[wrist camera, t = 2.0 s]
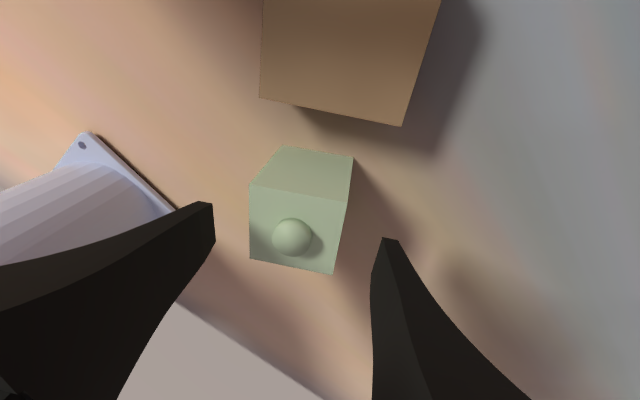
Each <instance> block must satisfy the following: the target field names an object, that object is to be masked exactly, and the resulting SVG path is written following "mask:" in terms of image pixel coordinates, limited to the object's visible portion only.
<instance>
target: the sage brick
mask: <svg viewBox="0 0 640 400" xmlns="http://www.w3.org/2000/svg"><path fill="white" fill-rule="evenodd" d="M352 165H353V157H349V156H344V155H338V154H332V153H326V152H321V151H315V150H309V149H304V148H298V147H292V146H286V145H282V146H281V147H280V148H279V149H278V151H277V152H276V153H275V154H274V155H273V157H272V158H271V159H270V160H269V161H268V162H267V164H266V165H265V166H264V167H263V168H262V170H261V171H260V172H259V173H258V174H257V175H256V177H255V178H254V179H253V180H252V181H251V183H250V184H249V235H250V258H251V259H255V260H260V261H265V262H270V263H275V264H280V265H284V266H289V267H294V268H299V269H304V270H309V271H314V272H318V273H323V274H328V275H333V270H334V266H335V261H336V256H337V251H338V246H339V241H340V237H341V232H342V227H343V222H344V217H345V212H346V208H347V203H348V195H349V188H350V180H351V173H352Z"/></svg>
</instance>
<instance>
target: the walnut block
mask: <svg viewBox="0 0 640 400" xmlns="http://www.w3.org/2000/svg"><path fill="white" fill-rule="evenodd" d="M441 1H442V0H263V20H262V43H261V65H260V87H259V98H263V99H267V100H272V101H277V102H282V103H287V104H292V105H297V106H301V107H306V108H311V109H316V110H321V111H326V112H331V113H335V114H340V115H345V116H350V117H355V118H360V119H365V120H370V121H374V122H379V123H384V124H389V125H394V126H399V127H401V126H402V123H403V120H404V116H405V113H406V110H407V107H408V104H409V101H410V98H411V94H412V91H413V88H414V85H415V82H416V79H417V76H418V73H419V69H420V66H421V63H422V60H423V57H424V54H425V51H426V48H427V44H428V41H429V38H430V35H431V32H432V29H433V26H434V23H435V19H436V16H437V13H438V10H439V7H440V4H441Z"/></svg>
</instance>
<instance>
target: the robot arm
mask: <svg viewBox="0 0 640 400" xmlns="http://www.w3.org/2000/svg"><path fill="white" fill-rule="evenodd" d="M84 143H85V144H84ZM215 242H216V238H215V227H214V217H213V206H212V203H206V202H201V201H197V202H194V203H192V204H189V205H187V206H185V207H182V208H180V209H178V210H175V209H174V208H173V207H172V206H171V205H170V204H169V203H168V202H167V201H166V200H164V199H163V198H162V197H161V196H160V195H159V194H158V193H157V192H156V191H155V190H154V189H153V188H152V187H151V186H149V185H148V184H147V183H146V182H145V181H144V180H143V179H142V178H141V177H140V176H139V175H138V174H137V173H136V172H134V171H133V170H132V169H131V168H130V167H129V166H128V165H127V164H126V163H125V162H124V161H123V160H122V159H120V158H119V157H118V156H117V155H116V154H115V153H114V152H113V151H112V150H111V149H110V148H109V147H108V146H107V145H105V144H104V143H103V142H102V141H101V140H100V139H99V138H98V137H97V136H96V135H95V134H93V133H92V132H89V131H85V132H82V133H80V134H79V135H78V136H77V138H76V139H75V140H74V142H73V143H72V144H71V146H70V147H69V149H68V150H67V151H66V153H65V154H64V155H63V157H62V158H61V159H60V161H59V162H58V163H57V165H56V166H55V168H54V169H53V170H52V171H51V172H48V173H46V174H43V175H41V176H38V177H36V178H33V179H31V180H28V181H26V182H24V183H21V184H19V185H16V186H14V187H11V188H9V189H6V190H4V191H1V192H0V400H117V398H118V396H119V394H120V392H121V390H122V388H123V386H124V384H125V383H126V381H127V379H128V377H129V375H130V373H131V372H132V369H133V368H134V366H135V364H136V362H137V361H138V359H139V357H140V355H141V354H142V352H143V350H144V348H145V347H146V345H147V343H148V342H149V340H150V338H151V336H152V335H153V333H154V332H155V330H156V328H157V327H158V325H159V323H160V322H161V320H162V319H163V317H164V315H165V314H166V312H167V311H168V310H169V308H170V307H171V305H172V304H173V303H174V301H175V300H176V299H177V297H178V296H179V295H180V293H181V292H182V291H183V289H184V288H185V287H186V286H187V284H188V283H189V282H190V280H191V279H192V278H193V276H194V275H195V274H196V272H197V271H198V270H199V268H200V267H201V266H202V264H203V263H204V261H205V260H206V258H207V256H208V255H209V253H210V251H211V249H212V247H213V246H214V244H215ZM370 310H371V327H372V343H373V383H372V400H531V399H530V398H529V397H528V396H527V395H525V394H524V393H523V392H522V391H521V390H520V389H519V388H517V387H516V386H515V385H514V384H513V383H512V382H511V381H510V380H509V379H508V378H507V377H505V376H504V375H503V374H502V373H501V372H500V371H499V370H498V369H497V368H496V367H495V366H494V365H493V364H492V363H491V362H490V361H489V360H488V359H487V358H485V357H484V356H483V355H482V354H481V352H480V351H479V350H478V349H477V348H476V347H475V346H474V345H473V344H472V343H471V342H470V341H469V340H468V339H467V338H466V337H465V336H464V335H463V333H462V332H461V331H460V330H459V329H458V328H457V327H456V325H455V324H454V323H453V322H452V321H451V320H450V318H449V317H448V316H447V315H446V314H445V312H444V311H443V310H442V309H441V307H440V306H439V305H438V303H437V302H436V301H435V299H434V298H433V296H432V295H431V294H430V292H429V291H428V289H427V288H426V286H425V285H424V283H423V282H422V280H421V279H420V277H419V276H418V274H417V272H416V271H415V269H414V267H413V266H412V264H411V262H410V261H409V259H408V257H407V255H406V254H405V252H404V250H403V248H402V247H401V245H400V243H399V241H398V240H394V239H389V238H384V237H382V240H381V244H380V247H379V250H378V253H377V257H376V260H375V263H374V266H373V270H372V273H371V284H370Z"/></svg>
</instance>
